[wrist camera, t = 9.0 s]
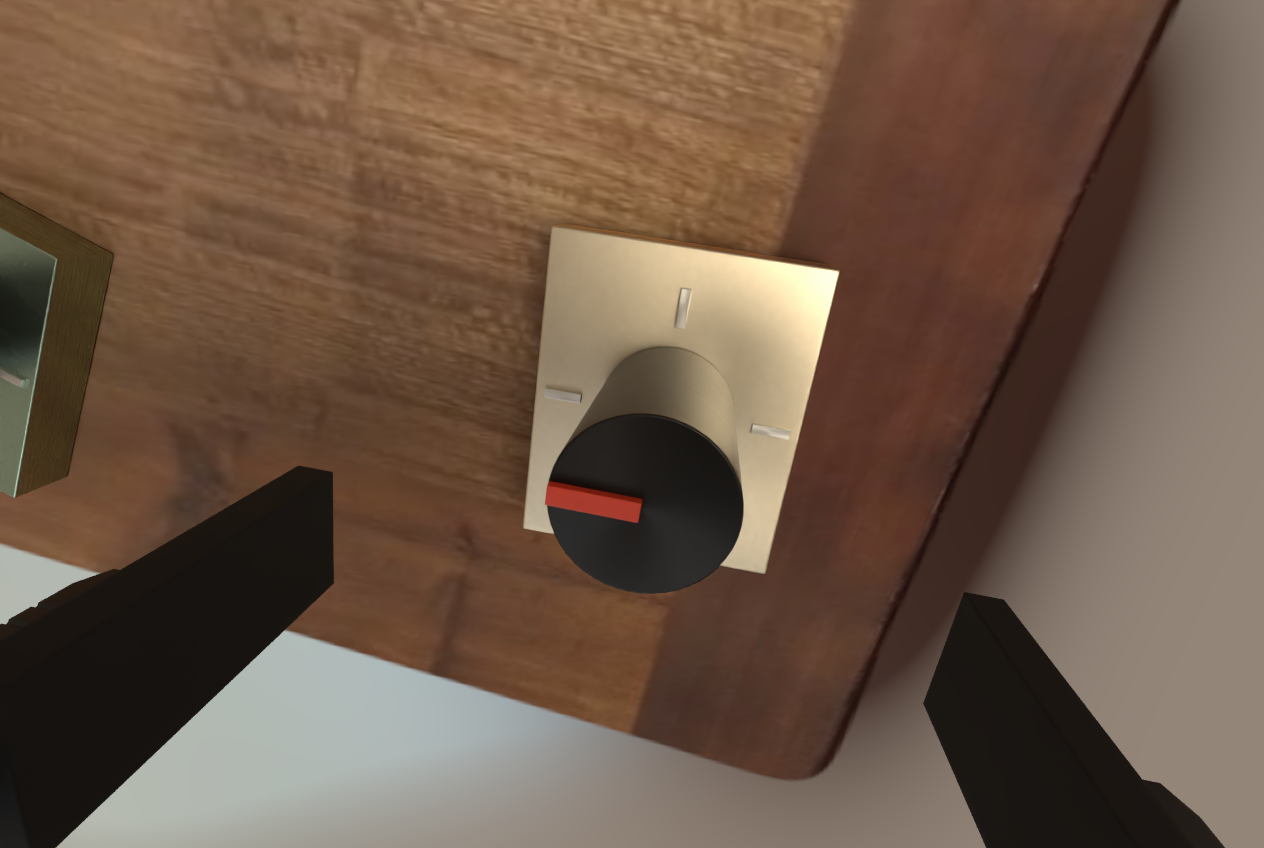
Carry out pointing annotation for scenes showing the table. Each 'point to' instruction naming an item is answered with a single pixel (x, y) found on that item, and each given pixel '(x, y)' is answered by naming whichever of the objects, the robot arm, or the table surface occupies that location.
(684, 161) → the table surface
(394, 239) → the table surface
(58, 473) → the back panel
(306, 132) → the table surface
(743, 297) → the front panel
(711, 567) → the knob
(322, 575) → the robot arm
